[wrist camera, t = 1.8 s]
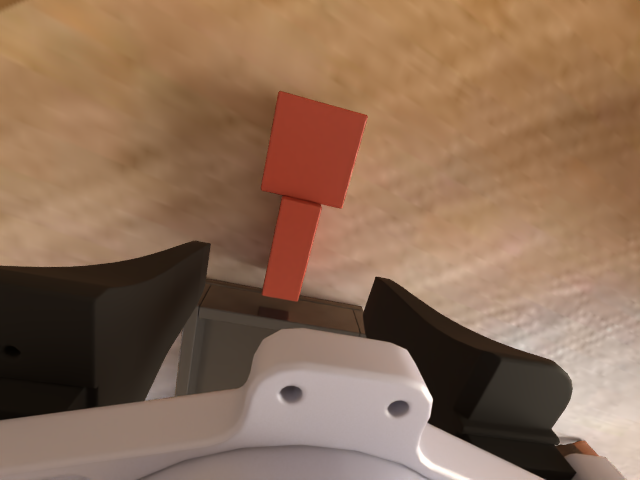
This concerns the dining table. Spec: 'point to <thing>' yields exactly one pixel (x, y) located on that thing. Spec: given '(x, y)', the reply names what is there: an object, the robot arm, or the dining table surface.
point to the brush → (305, 180)
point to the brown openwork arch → (576, 449)
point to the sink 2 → (247, 332)
